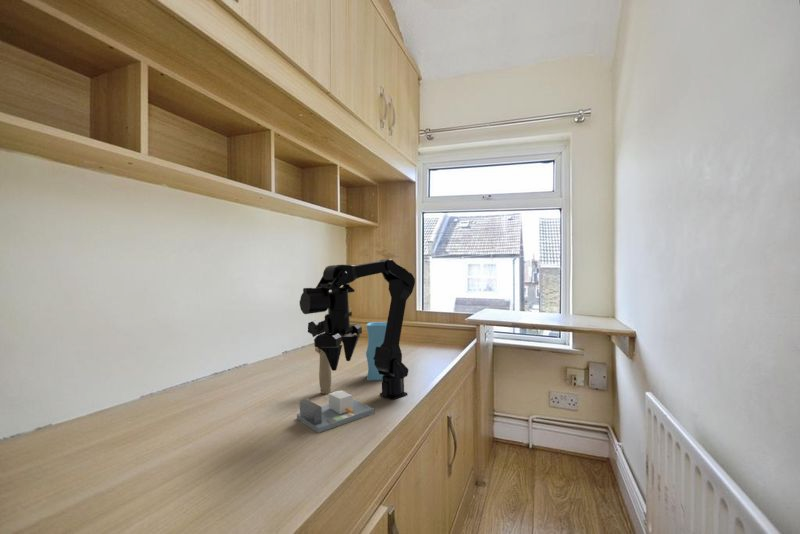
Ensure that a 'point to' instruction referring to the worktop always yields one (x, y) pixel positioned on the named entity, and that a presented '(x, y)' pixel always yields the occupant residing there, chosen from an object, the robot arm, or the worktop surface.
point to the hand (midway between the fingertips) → (341, 365)
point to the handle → (324, 372)
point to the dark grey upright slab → (311, 412)
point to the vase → (374, 347)
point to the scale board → (338, 416)
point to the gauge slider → (341, 402)
